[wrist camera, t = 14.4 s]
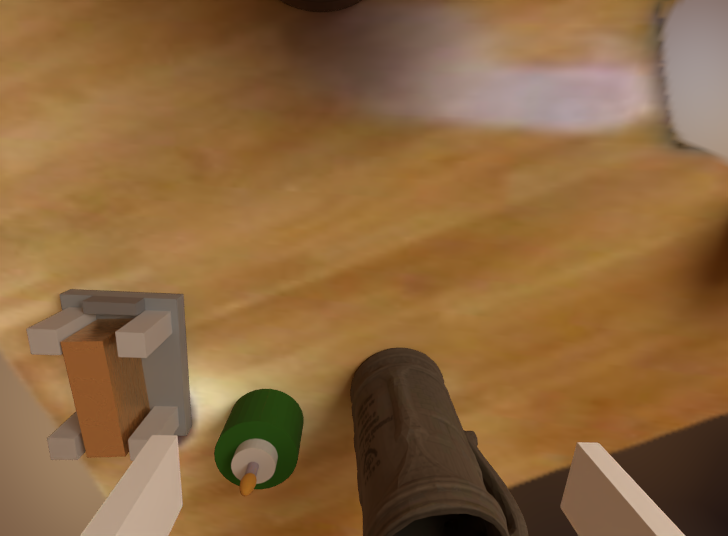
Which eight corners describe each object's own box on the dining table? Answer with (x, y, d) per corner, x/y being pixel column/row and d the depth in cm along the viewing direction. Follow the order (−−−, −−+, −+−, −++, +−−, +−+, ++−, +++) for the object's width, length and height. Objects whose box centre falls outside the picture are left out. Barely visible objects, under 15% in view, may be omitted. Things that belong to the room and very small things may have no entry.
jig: (70, 289, 37) (15, 314, 31) (183, 294, 38) (151, 319, 31) (90, 424, 41) (45, 470, 35) (191, 426, 42) (165, 472, 35)
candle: (307, 392, 41) (295, 460, 32) (299, 452, 44) (287, 533, 34) (232, 385, 41) (198, 452, 31) (228, 447, 43) (195, 528, 33)
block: (97, 318, 36) (60, 341, 31) (134, 318, 36) (102, 341, 32) (118, 422, 39) (87, 457, 35) (151, 421, 40) (125, 456, 35)
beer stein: (332, 415, 42) (343, 625, 23) (360, 334, 40) (399, 495, 21) (451, 438, 45) (546, 640, 26) (484, 364, 43) (617, 528, 24)
